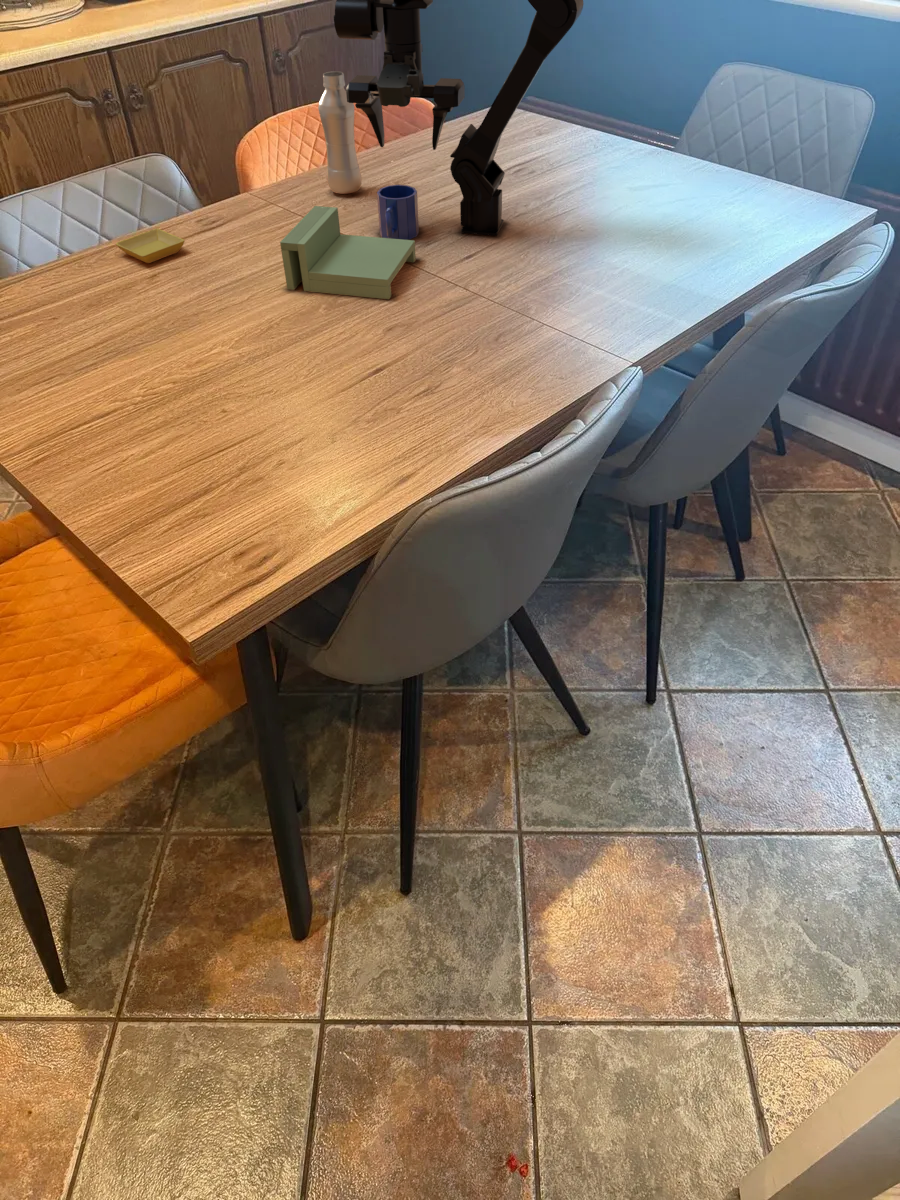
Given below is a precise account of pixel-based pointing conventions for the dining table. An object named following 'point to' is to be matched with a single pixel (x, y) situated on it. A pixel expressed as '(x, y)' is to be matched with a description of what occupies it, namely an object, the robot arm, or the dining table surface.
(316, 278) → the shelf
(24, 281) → the dining table surface
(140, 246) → the yellow shallow square dish
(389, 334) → the dining table surface
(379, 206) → the mug
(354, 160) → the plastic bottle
